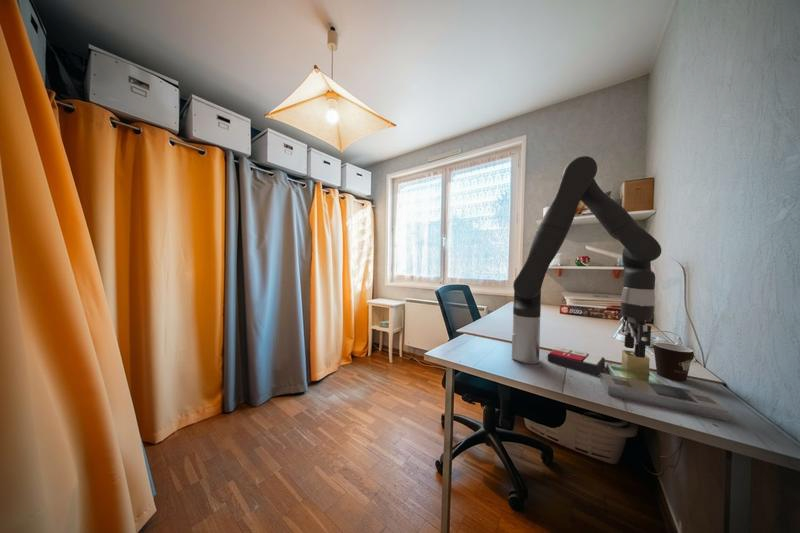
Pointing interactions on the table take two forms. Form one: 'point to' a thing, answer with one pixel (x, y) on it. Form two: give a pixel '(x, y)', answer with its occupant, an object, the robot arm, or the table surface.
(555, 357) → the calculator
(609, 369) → the tray
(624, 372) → the tan holed block
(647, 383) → the rail
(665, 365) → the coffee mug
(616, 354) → the table surface
